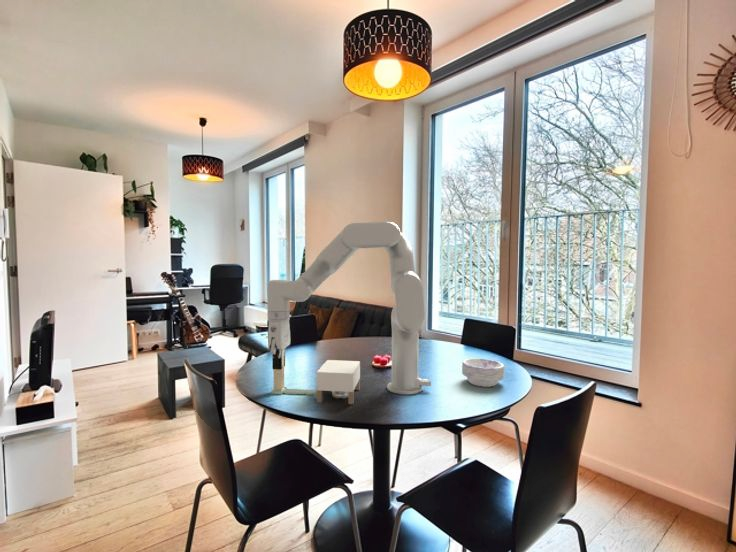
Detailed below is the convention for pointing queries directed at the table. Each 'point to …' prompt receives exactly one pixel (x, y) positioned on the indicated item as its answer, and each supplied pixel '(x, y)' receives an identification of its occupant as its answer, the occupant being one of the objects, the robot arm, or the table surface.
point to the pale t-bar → (279, 383)
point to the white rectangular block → (339, 378)
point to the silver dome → (339, 394)
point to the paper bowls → (483, 371)
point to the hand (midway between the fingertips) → (278, 367)
